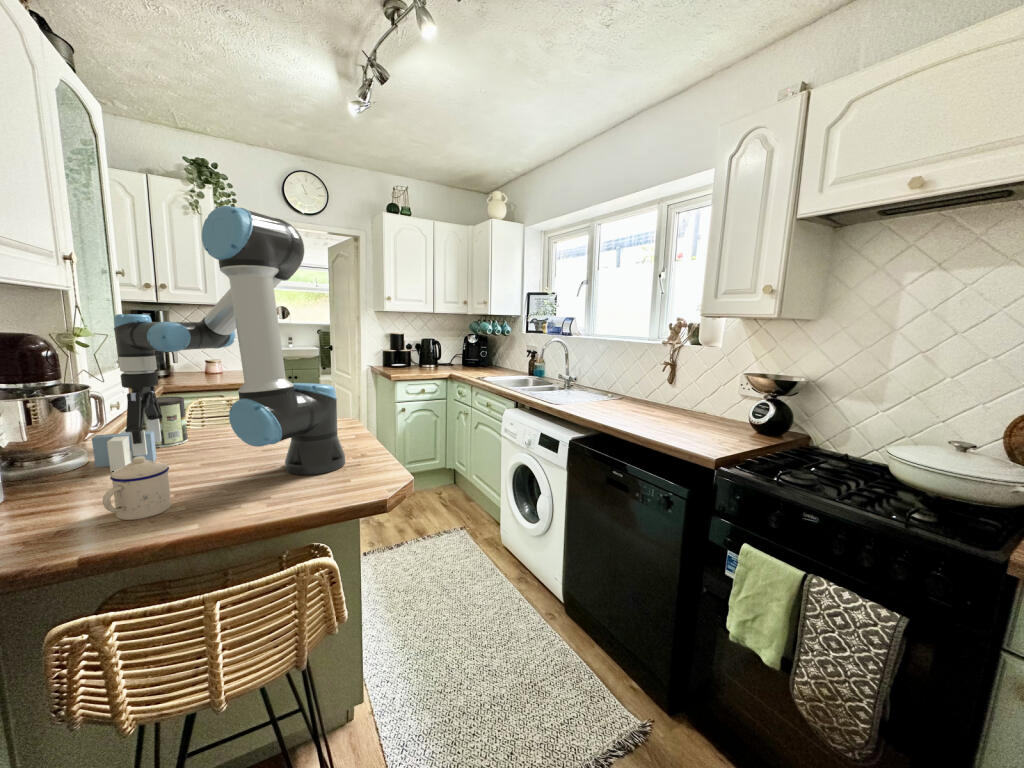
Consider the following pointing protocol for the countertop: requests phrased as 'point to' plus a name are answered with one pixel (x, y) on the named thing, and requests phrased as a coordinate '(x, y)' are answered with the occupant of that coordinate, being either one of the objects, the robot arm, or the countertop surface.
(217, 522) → the countertop surface
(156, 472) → the teacup with lid
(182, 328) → the robot arm
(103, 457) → the light blue flat block
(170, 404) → the coffee can
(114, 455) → the white notched slab
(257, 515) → the countertop surface
